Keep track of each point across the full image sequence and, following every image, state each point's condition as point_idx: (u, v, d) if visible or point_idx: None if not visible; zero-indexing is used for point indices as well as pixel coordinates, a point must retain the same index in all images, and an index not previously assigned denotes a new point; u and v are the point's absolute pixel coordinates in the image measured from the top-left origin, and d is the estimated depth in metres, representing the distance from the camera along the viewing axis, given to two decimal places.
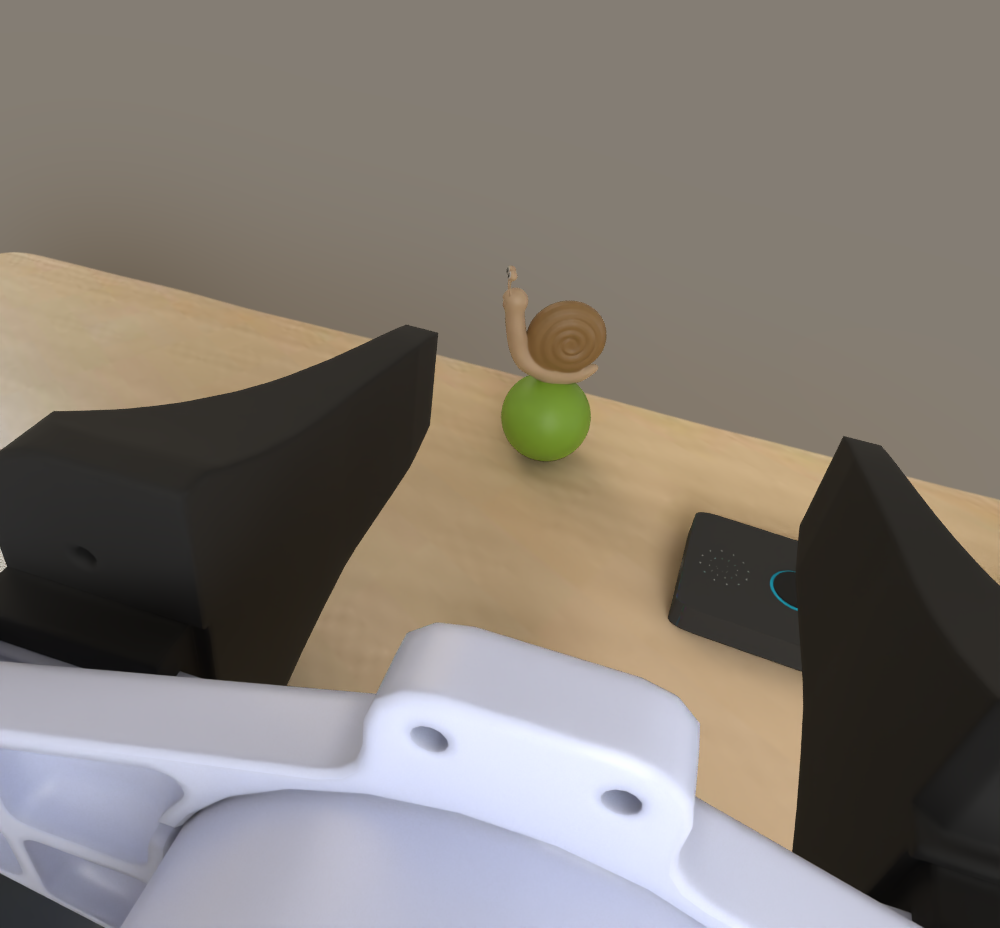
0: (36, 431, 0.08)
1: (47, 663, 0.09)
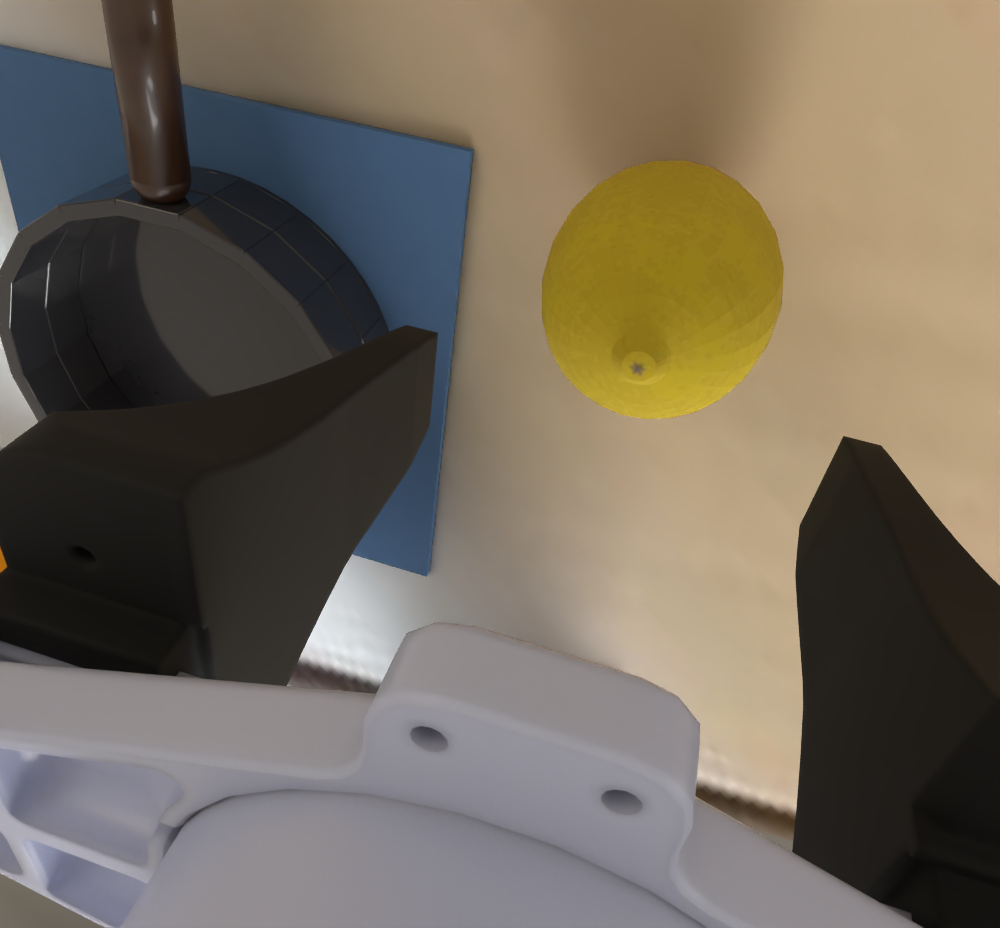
0: (36, 431, 0.08)
1: (47, 663, 0.09)
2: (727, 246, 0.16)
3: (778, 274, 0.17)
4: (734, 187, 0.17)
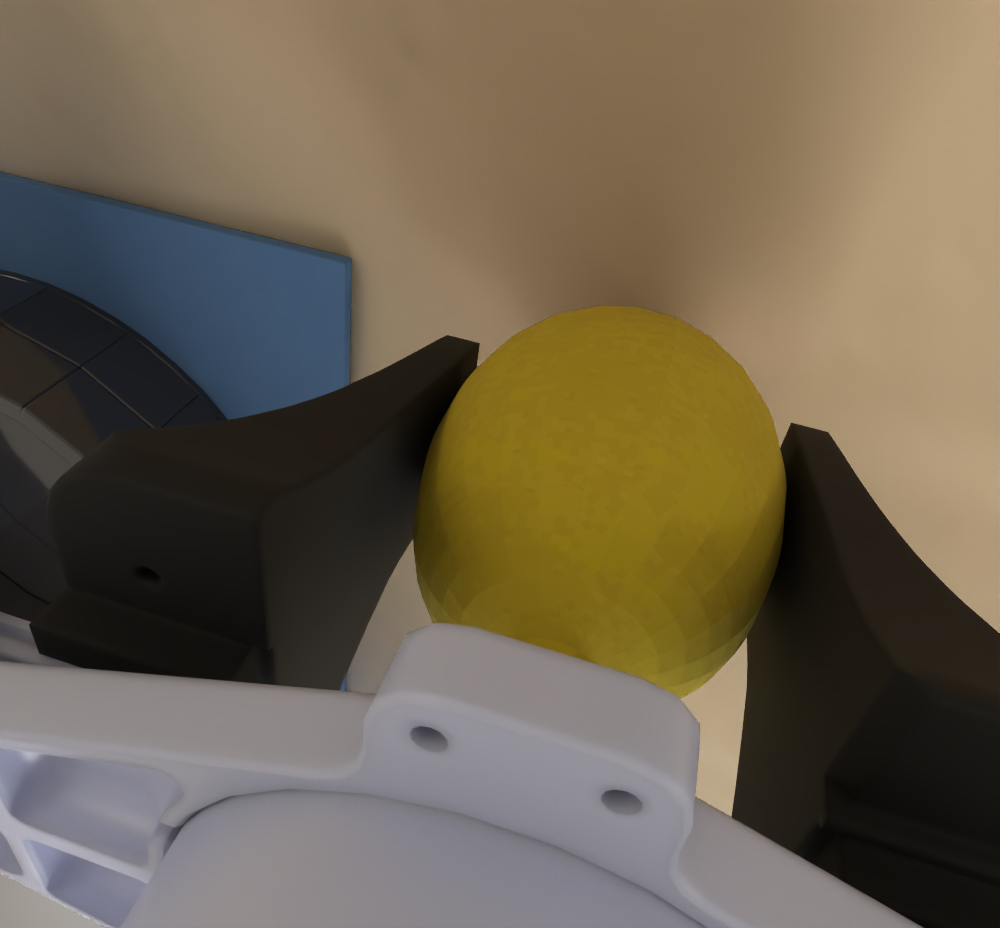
0: (104, 451, 0.08)
1: None
2: (694, 492, 0.10)
3: (778, 507, 0.11)
4: (709, 366, 0.11)
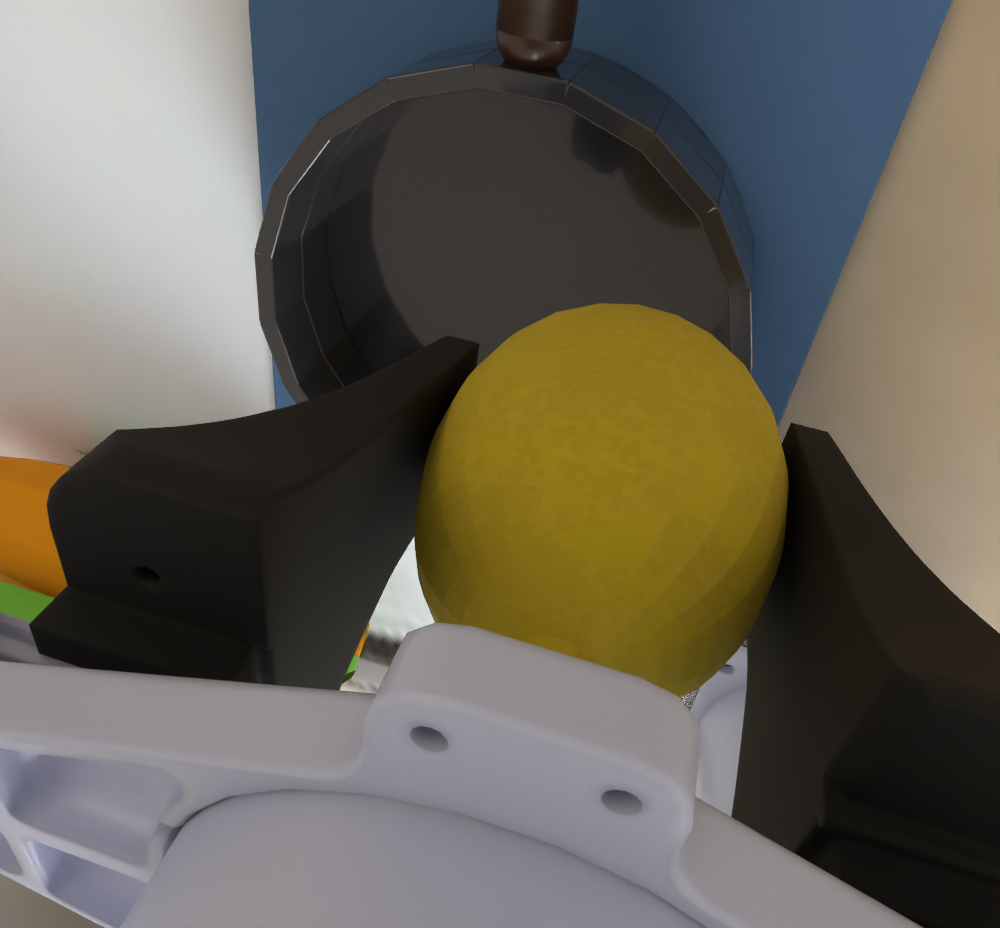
0: (104, 451, 0.08)
1: None
2: (696, 489, 0.10)
3: (781, 504, 0.11)
4: (711, 364, 0.11)
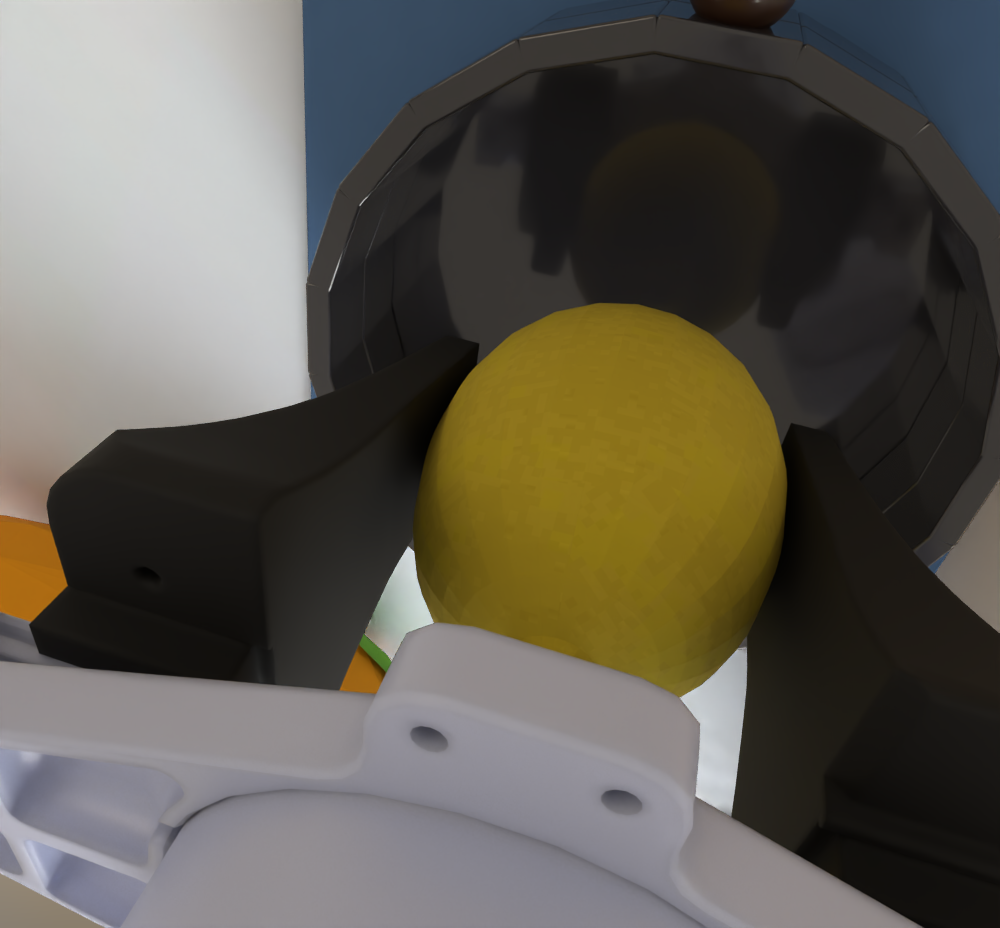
0: (104, 451, 0.08)
1: None
2: (695, 489, 0.10)
3: (779, 504, 0.11)
4: (709, 363, 0.11)
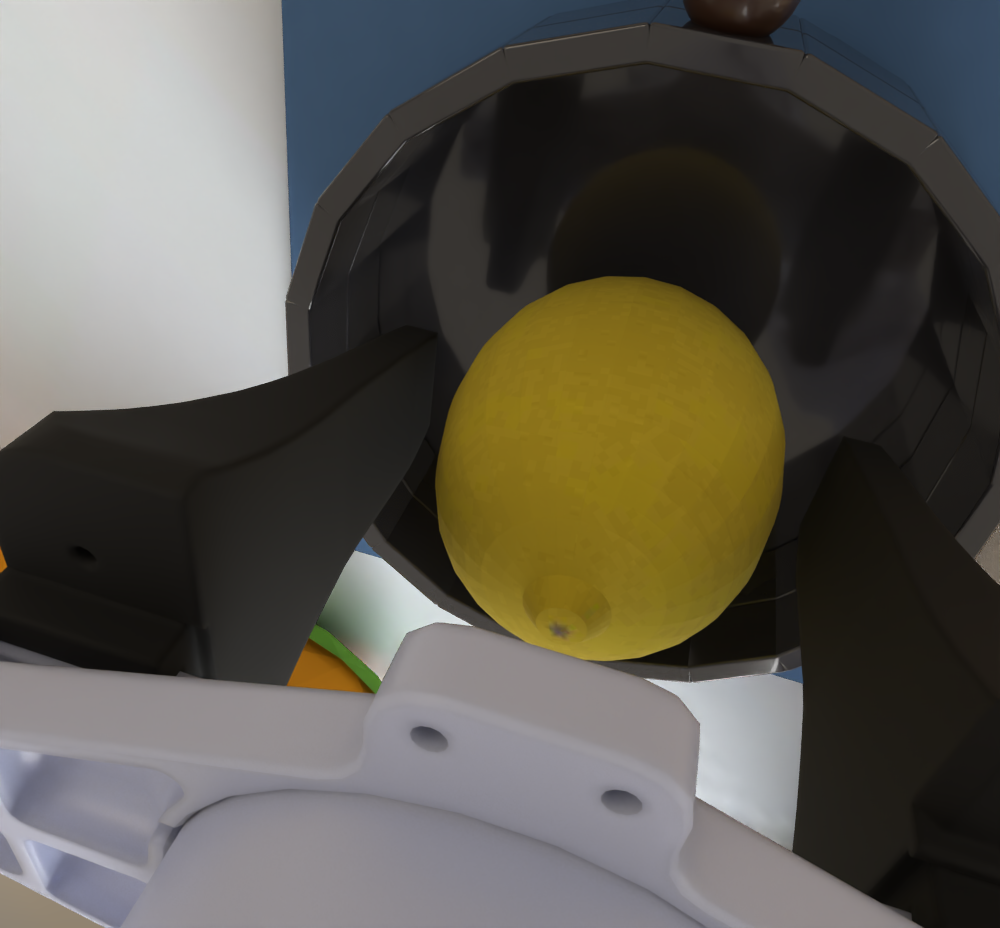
0: (36, 431, 0.08)
1: (47, 663, 0.09)
2: (699, 440, 0.10)
3: (777, 459, 0.12)
4: (712, 329, 0.12)
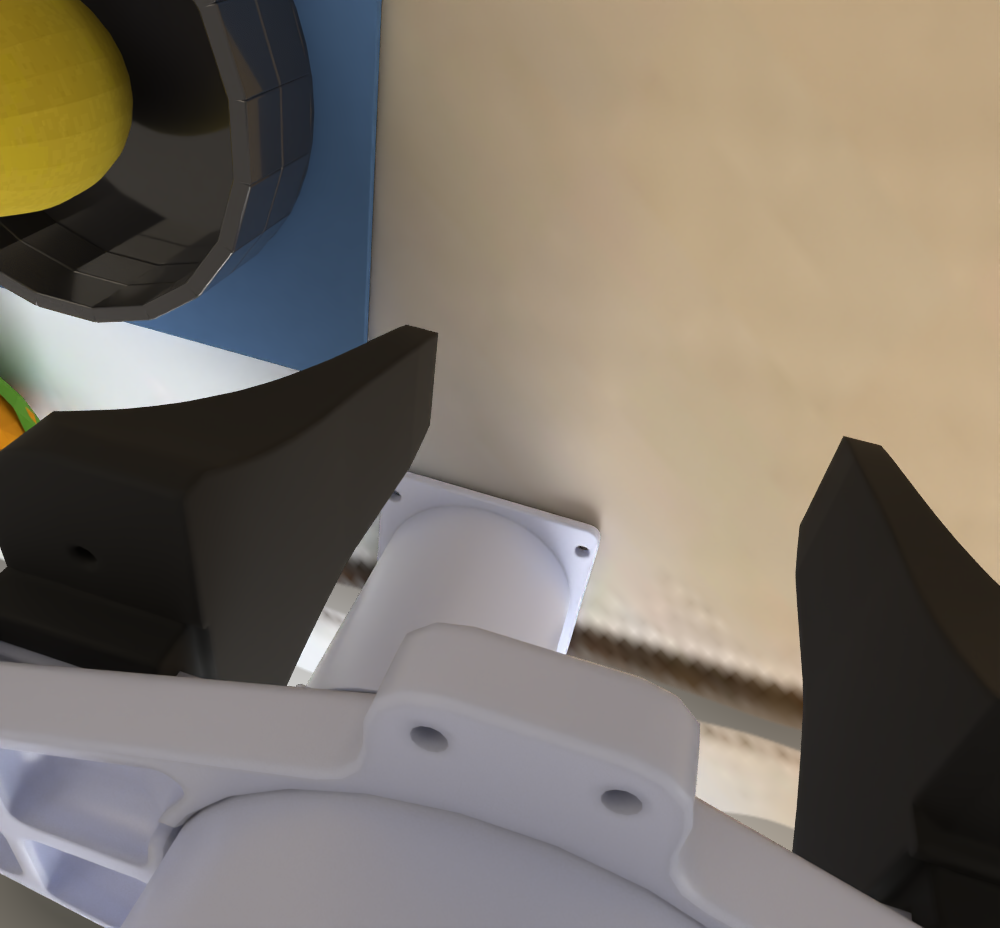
0: (36, 431, 0.08)
1: (47, 663, 0.09)
2: None
3: (46, 61, 0.18)
4: None
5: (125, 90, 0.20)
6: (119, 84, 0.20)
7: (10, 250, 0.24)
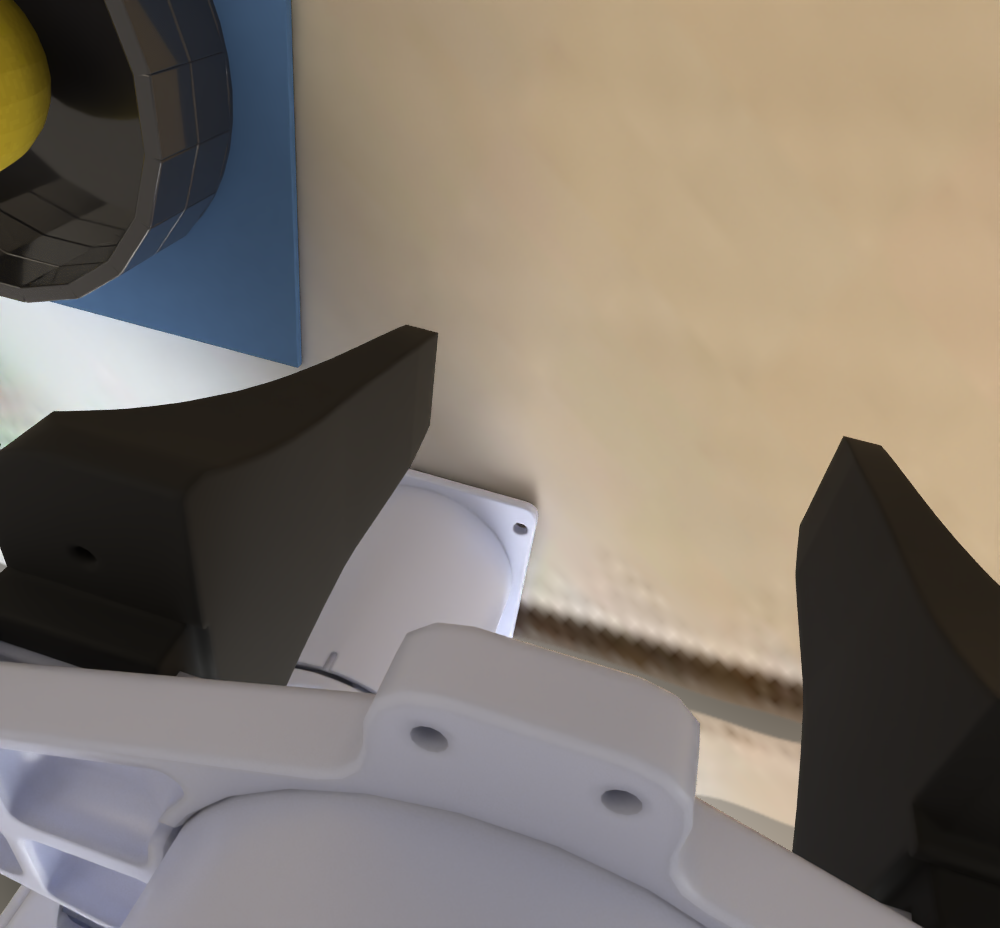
0: (36, 431, 0.08)
1: (47, 663, 0.09)
2: None
3: None
4: None
5: (39, 69, 0.20)
6: (32, 62, 0.20)
7: None
